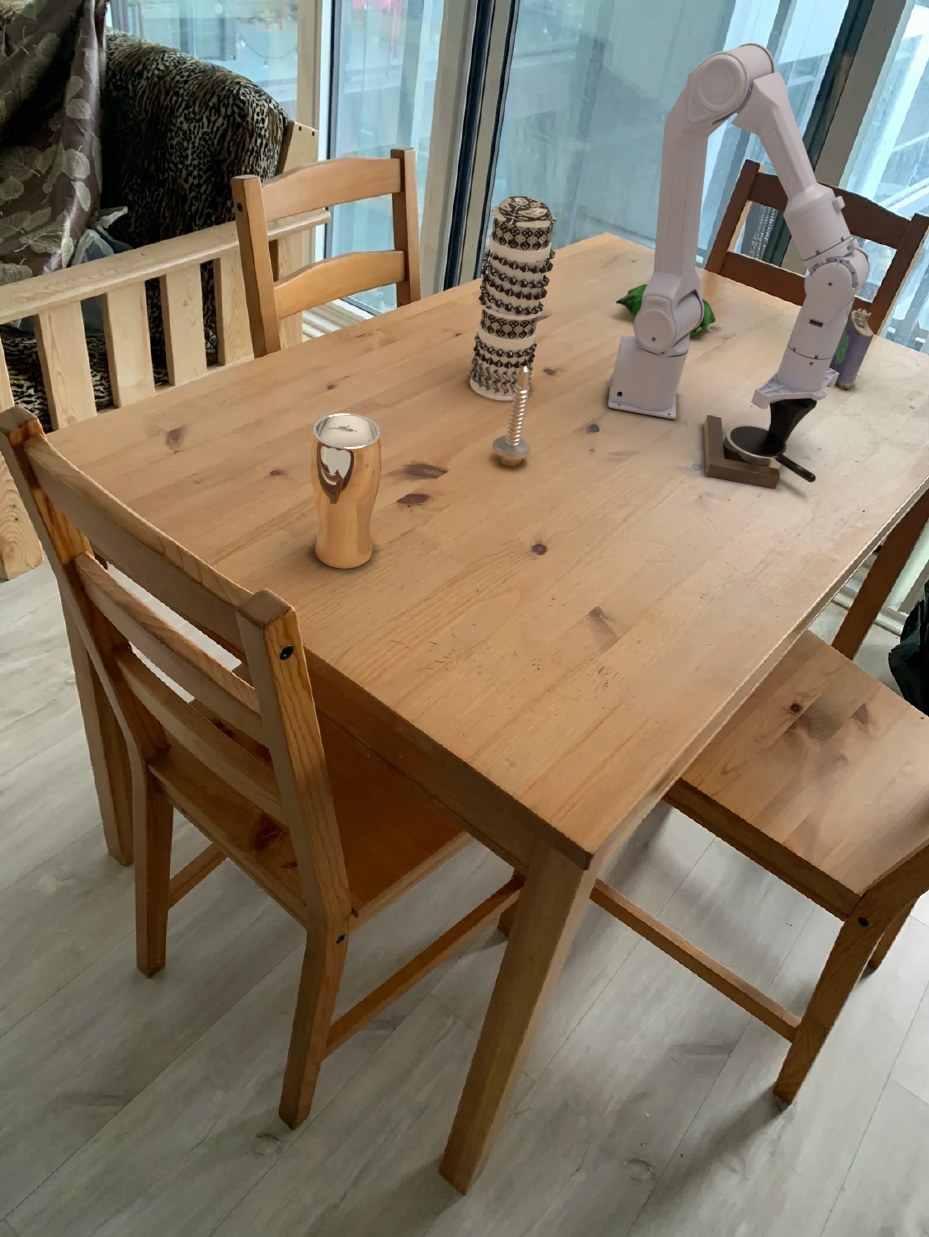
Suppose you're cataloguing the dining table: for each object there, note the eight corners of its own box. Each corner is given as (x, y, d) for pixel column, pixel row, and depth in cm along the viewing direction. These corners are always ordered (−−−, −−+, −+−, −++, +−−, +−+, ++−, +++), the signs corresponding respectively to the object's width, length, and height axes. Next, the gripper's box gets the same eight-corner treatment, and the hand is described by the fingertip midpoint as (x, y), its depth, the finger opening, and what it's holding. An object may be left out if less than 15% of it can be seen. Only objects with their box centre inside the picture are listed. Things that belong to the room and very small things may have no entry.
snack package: (624, 304, 158) (631, 274, 154) (713, 329, 154) (722, 298, 150) (611, 319, 153) (617, 288, 149) (702, 345, 149) (711, 314, 145)
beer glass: (343, 523, 104) (346, 404, 94) (389, 552, 101) (397, 432, 91) (297, 550, 99) (295, 427, 89) (343, 580, 96) (347, 457, 86)
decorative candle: (542, 398, 130) (576, 215, 113) (481, 405, 127) (507, 217, 110) (516, 368, 136) (544, 189, 119) (457, 373, 133) (478, 190, 116)
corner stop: (705, 476, 119) (709, 464, 118) (703, 426, 129) (706, 414, 128) (775, 488, 119) (780, 477, 118) (767, 437, 129) (772, 426, 127)
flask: (853, 391, 142) (881, 324, 135) (833, 388, 142) (860, 321, 135) (843, 364, 149) (869, 299, 142) (824, 361, 149) (850, 296, 142)
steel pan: (707, 452, 124) (714, 431, 122) (747, 438, 128) (754, 417, 125) (787, 506, 116) (795, 484, 114) (826, 490, 120) (835, 468, 118)
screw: (495, 447, 119) (532, 455, 118) (486, 466, 116) (524, 475, 115) (510, 353, 110) (549, 361, 110) (500, 370, 107) (541, 379, 106)
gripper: (798, 374, 110) (762, 471, 119) (871, 352, 117) (832, 444, 126) (754, 349, 114) (721, 444, 123) (827, 328, 121) (791, 420, 130)
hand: (774, 443), depth 125 cm, fingers closed, pressing on steel pan
